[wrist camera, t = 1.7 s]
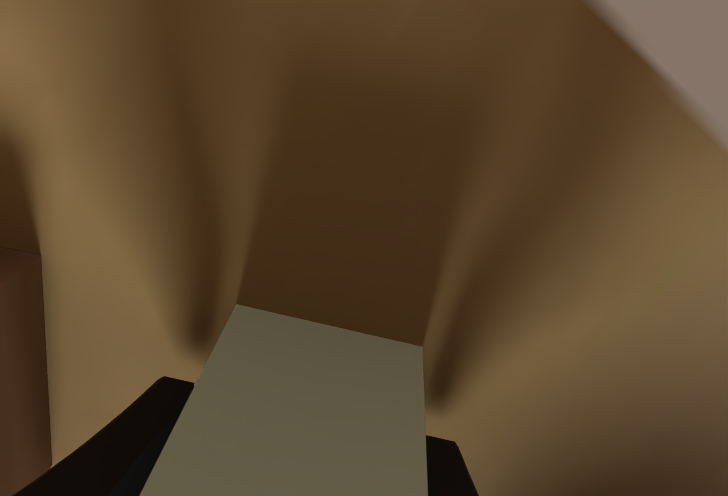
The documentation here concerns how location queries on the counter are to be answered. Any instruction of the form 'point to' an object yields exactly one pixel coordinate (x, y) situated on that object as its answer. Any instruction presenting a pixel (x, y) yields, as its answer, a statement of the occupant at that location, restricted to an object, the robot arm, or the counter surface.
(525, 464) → the counter surface
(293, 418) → the green block
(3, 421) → the walnut slab
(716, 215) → the counter surface
